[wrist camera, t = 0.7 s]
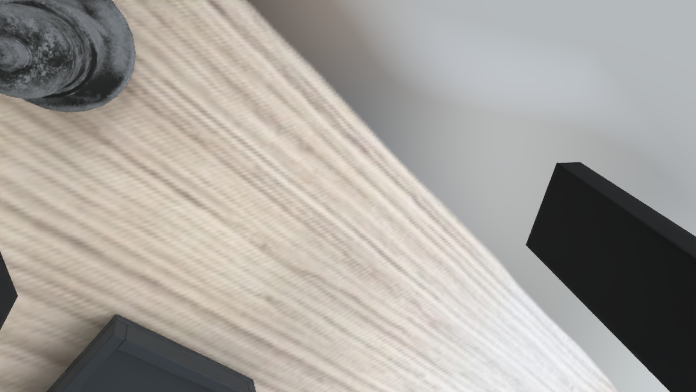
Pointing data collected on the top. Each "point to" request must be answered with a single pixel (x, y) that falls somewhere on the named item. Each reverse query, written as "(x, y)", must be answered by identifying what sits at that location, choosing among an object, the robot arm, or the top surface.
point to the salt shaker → (64, 52)
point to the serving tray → (145, 365)
